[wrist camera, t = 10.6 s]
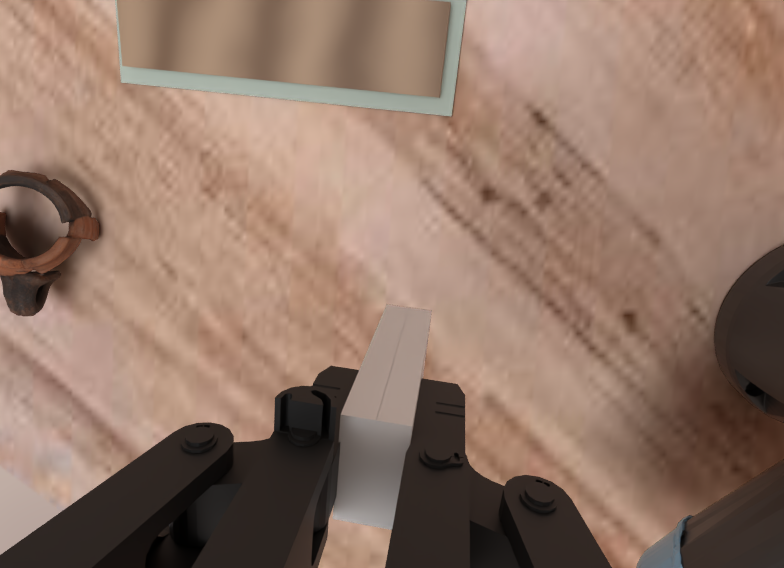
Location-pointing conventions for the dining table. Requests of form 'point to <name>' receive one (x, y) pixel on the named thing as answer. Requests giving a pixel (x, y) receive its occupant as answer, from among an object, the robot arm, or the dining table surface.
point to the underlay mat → (313, 91)
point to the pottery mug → (15, 270)
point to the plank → (293, 41)
